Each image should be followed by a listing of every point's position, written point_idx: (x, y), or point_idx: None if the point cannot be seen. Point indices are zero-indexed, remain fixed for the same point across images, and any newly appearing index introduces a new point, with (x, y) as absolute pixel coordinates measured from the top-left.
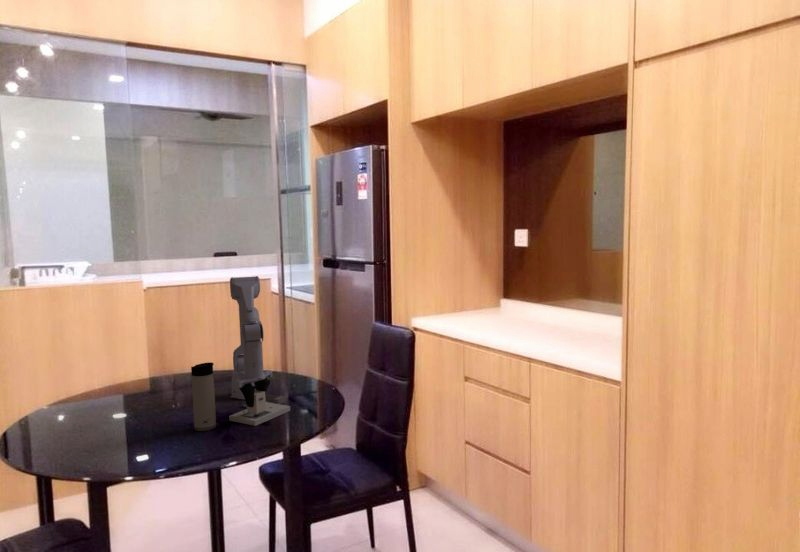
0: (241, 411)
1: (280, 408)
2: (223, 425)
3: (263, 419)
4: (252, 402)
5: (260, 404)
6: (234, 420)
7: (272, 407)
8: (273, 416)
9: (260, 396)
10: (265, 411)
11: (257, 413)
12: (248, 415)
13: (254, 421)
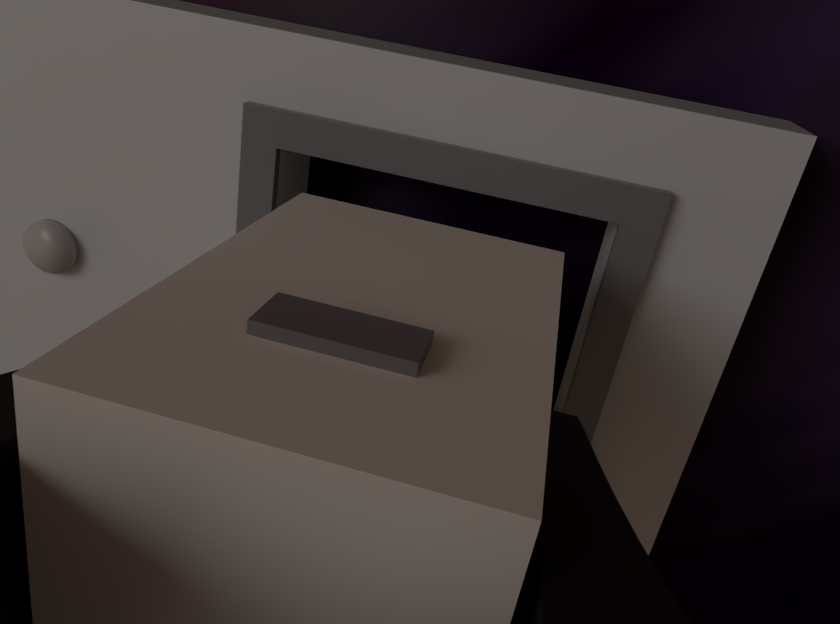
0: None
1: (4, 55)
2: (815, 612)
3: (565, 80)
4: (592, 468)
5: (411, 283)
6: None
7: (47, 222)
8: (298, 26)
9: (330, 384)
10: None
11: (543, 249)
12: None
13: (809, 150)
